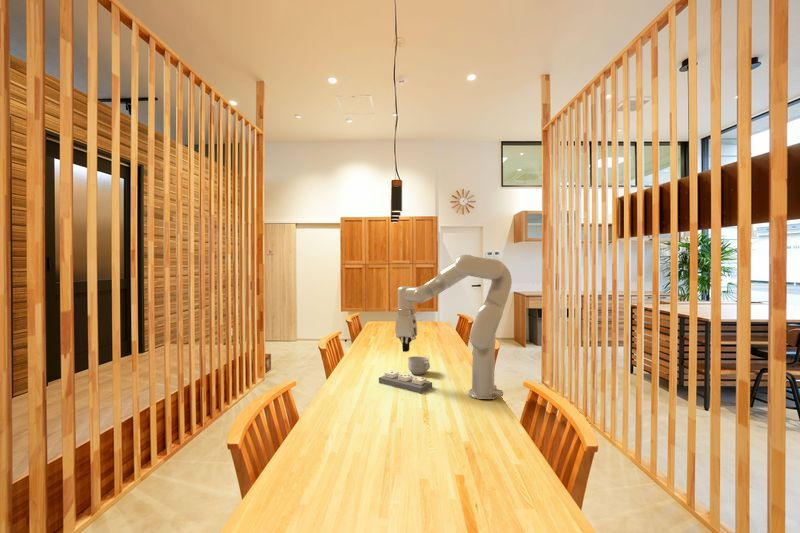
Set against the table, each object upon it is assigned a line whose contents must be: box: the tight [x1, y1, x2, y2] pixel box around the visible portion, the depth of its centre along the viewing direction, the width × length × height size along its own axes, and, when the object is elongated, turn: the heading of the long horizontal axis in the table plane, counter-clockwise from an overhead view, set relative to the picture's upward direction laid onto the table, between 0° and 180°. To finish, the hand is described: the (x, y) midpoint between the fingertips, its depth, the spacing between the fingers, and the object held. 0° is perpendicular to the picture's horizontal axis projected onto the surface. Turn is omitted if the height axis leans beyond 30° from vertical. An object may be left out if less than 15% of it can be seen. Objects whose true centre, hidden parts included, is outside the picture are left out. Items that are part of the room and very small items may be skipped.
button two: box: [412, 376, 427, 385], centre depth 170 cm, size 5×5×4 cm
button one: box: [384, 370, 400, 379], centre depth 179 cm, size 5×5×4 cm
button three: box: [398, 373, 413, 382], centre depth 175 cm, size 5×5×4 cm
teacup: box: [407, 355, 431, 376], centre depth 192 cm, size 14×11×8 cm
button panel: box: [378, 374, 433, 395], centre depth 175 cm, size 24×10×2 cm, turn 54°
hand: (405, 351), depth 174 cm, fingers closed
